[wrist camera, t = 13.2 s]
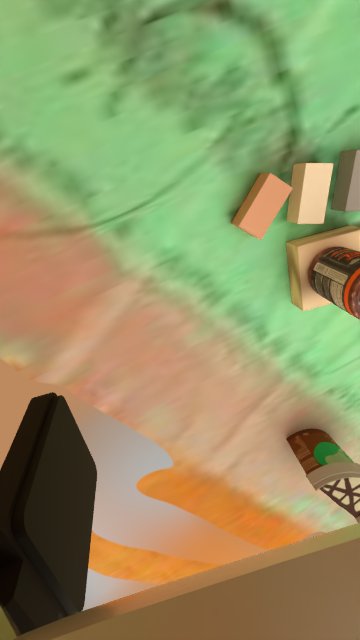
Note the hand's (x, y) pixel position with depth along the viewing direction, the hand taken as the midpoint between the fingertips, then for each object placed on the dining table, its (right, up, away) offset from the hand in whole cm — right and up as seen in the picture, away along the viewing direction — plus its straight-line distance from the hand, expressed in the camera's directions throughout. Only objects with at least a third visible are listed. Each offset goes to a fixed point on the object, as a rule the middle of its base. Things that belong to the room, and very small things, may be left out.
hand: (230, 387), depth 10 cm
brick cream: (+12, +16, +29) cm, 35 cm away
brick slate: (+18, +18, +29) cm, 38 cm away
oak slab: (+16, +9, +32) cm, 37 cm away
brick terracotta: (+7, +15, +28) cm, 33 cm away
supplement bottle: (+16, +8, +29) cm, 34 cm away
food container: (+21, -17, +44) cm, 52 cm away
